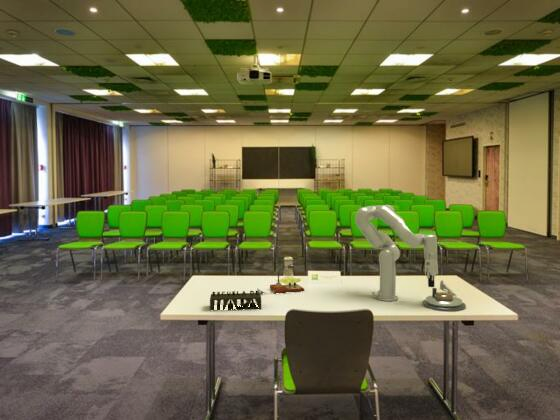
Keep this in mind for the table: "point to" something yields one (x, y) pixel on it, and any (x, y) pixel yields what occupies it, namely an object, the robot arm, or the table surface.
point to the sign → (234, 297)
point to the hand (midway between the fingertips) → (431, 286)
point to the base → (444, 307)
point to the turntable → (443, 299)
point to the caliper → (445, 287)
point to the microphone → (284, 288)
